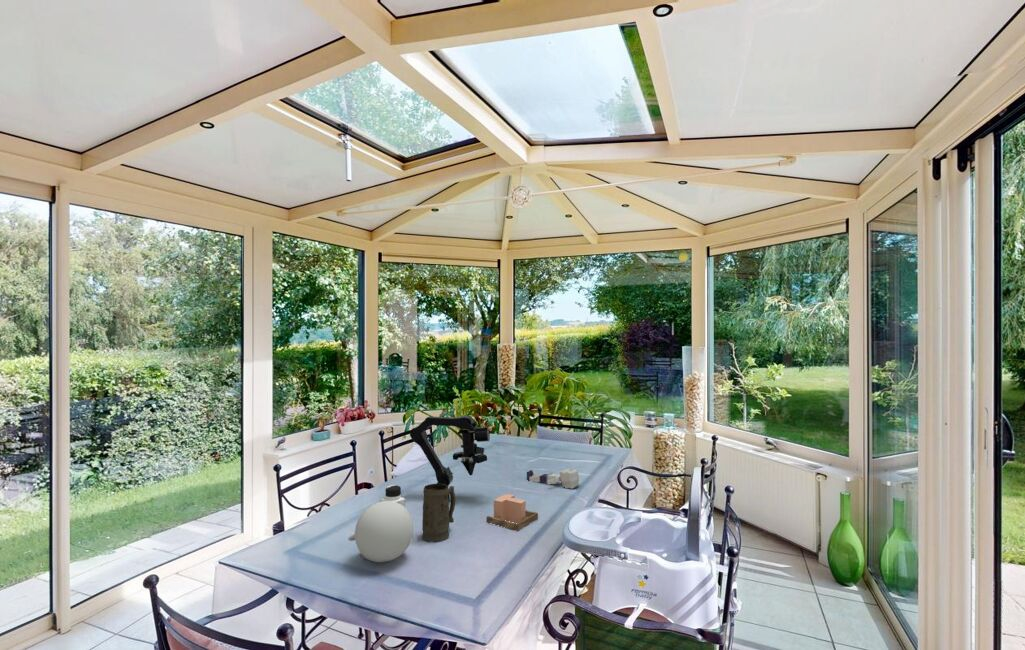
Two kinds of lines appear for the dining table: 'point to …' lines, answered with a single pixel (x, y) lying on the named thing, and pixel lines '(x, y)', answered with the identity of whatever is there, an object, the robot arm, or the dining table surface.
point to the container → (394, 495)
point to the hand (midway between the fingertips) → (471, 475)
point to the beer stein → (437, 511)
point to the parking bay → (531, 518)
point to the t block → (509, 508)
